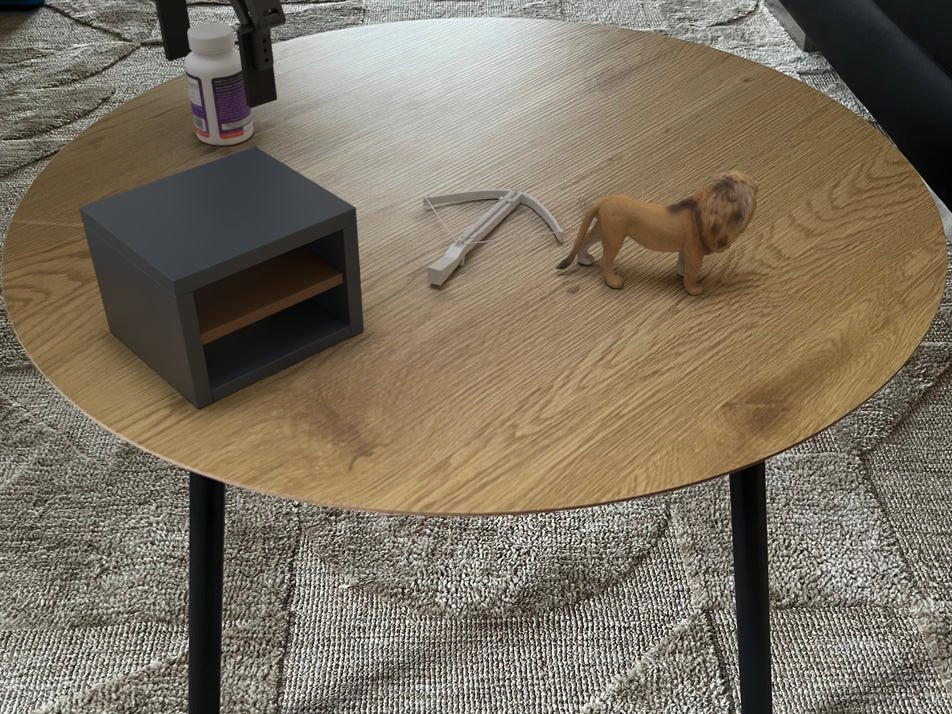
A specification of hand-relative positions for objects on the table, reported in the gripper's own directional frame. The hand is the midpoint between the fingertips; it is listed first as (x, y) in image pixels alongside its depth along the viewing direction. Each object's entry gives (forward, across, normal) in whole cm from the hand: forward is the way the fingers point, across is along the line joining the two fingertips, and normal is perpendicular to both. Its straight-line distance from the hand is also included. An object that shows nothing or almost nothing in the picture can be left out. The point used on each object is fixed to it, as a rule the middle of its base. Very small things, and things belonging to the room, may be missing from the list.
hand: (219, 79), depth 100 cm
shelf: (+5, -28, +17) cm, 33 cm away
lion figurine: (+6, -43, -12) cm, 45 cm away
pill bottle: (+6, 0, 0) cm, 6 cm away
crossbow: (+6, -30, -5) cm, 31 cm away
